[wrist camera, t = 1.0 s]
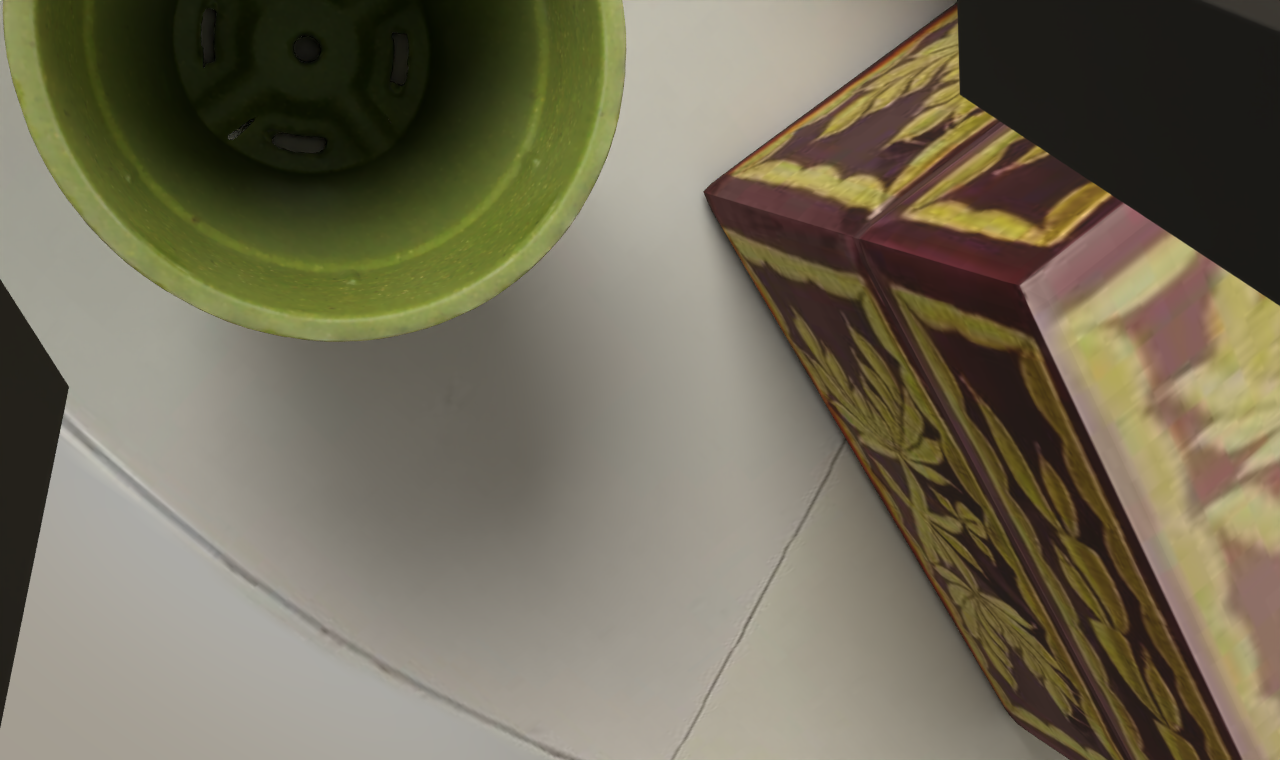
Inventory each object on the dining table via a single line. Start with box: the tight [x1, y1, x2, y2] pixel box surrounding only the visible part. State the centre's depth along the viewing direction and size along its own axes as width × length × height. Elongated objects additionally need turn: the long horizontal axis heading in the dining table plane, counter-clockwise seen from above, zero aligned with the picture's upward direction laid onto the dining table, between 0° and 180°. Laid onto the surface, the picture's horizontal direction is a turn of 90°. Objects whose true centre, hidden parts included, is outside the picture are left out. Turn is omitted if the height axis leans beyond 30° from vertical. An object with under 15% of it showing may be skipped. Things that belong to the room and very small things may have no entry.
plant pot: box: [3, 0, 626, 342], centre depth 27 cm, size 12×12×11 cm
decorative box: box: [704, 3, 1280, 760], centre depth 38 cm, size 28×19×15 cm
